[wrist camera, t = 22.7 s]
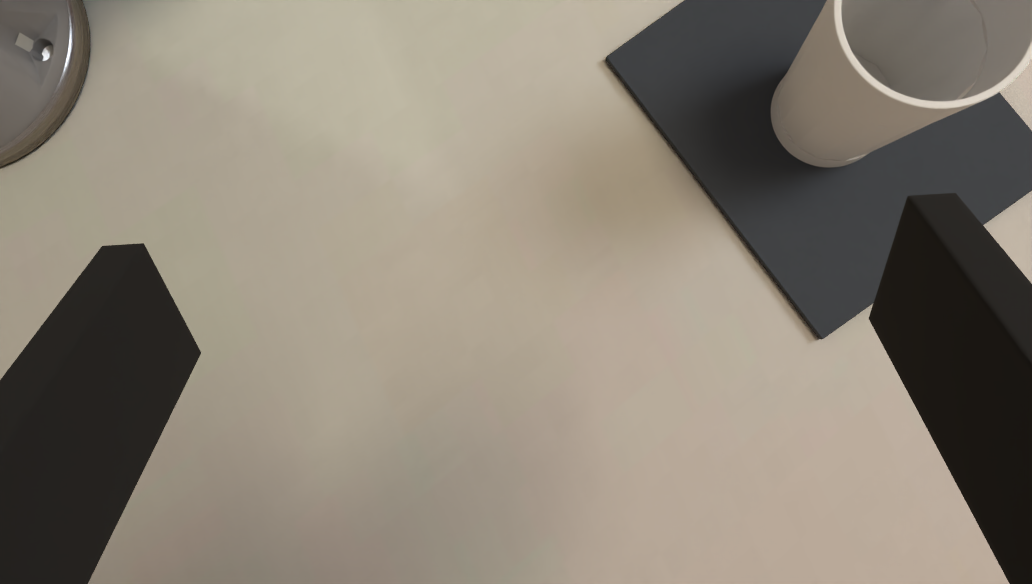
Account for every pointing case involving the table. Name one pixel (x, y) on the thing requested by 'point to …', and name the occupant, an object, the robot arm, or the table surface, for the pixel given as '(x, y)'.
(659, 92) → the mat
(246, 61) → the table surface
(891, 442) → the table surface
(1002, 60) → the cup
